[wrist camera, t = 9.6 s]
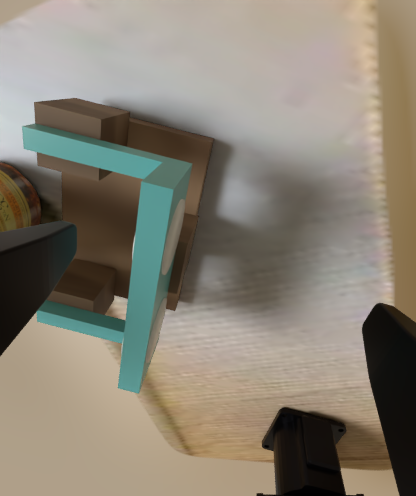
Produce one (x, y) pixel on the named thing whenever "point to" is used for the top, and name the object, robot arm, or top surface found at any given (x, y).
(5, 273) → the robot arm
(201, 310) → the top surface
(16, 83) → the top surface
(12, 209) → the sauce bottle
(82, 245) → the stand
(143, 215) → the glasses
